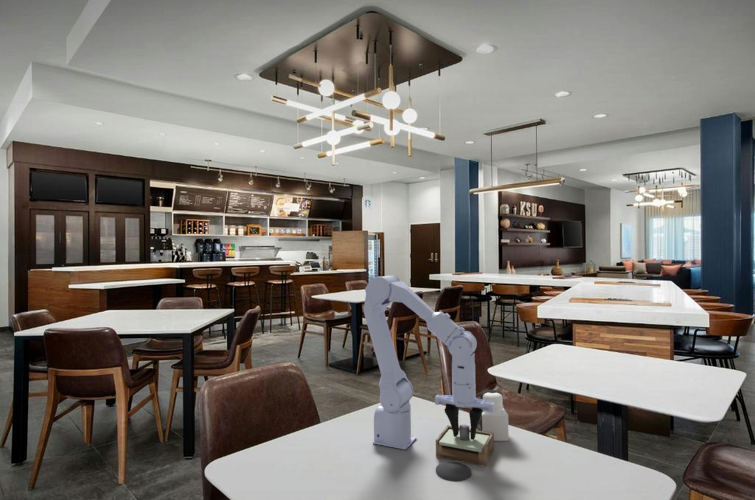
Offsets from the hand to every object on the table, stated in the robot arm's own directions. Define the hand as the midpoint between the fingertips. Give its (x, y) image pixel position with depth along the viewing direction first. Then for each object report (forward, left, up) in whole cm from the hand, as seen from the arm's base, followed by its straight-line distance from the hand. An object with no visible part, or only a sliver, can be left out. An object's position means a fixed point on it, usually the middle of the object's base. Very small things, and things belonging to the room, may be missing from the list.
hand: (464, 436), depth 110 cm
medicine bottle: (+4, +14, -4) cm, 15 cm away
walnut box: (0, 0, -4) cm, 4 cm away
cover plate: (0, 0, -1) cm, 1 cm away
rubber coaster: (0, -10, -4) cm, 11 cm away
